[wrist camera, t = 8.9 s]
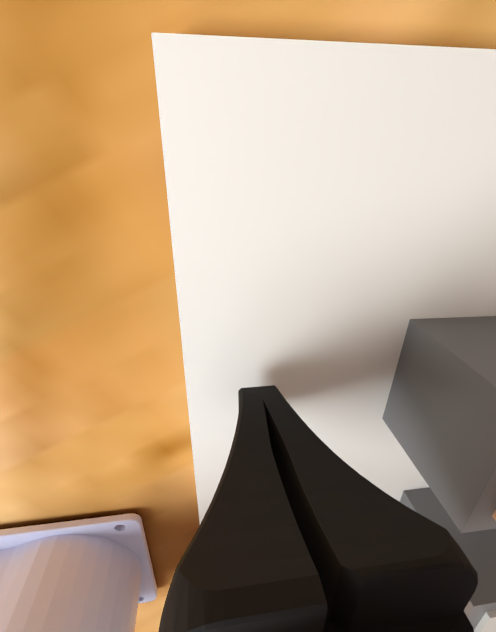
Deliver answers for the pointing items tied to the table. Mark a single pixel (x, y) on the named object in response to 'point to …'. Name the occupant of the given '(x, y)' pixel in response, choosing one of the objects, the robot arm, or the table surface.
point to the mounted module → (480, 548)
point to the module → (450, 413)
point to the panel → (321, 226)
